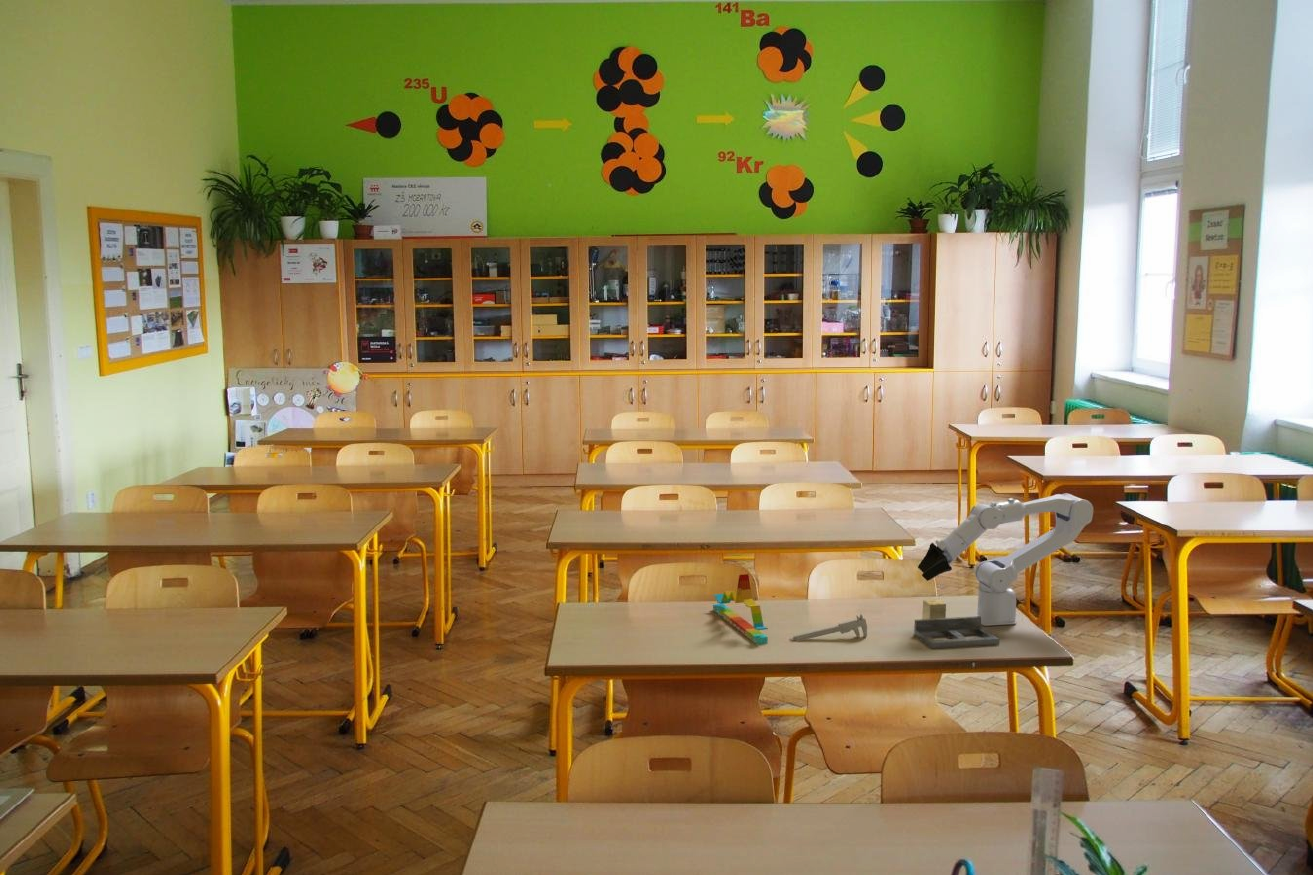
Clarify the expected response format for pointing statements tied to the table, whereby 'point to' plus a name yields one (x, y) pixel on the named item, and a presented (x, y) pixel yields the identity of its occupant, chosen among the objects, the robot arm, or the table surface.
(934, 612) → the brass block
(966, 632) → the grey tray
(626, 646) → the table surface
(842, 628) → the caliper
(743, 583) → the rainbow striped peaked bar
